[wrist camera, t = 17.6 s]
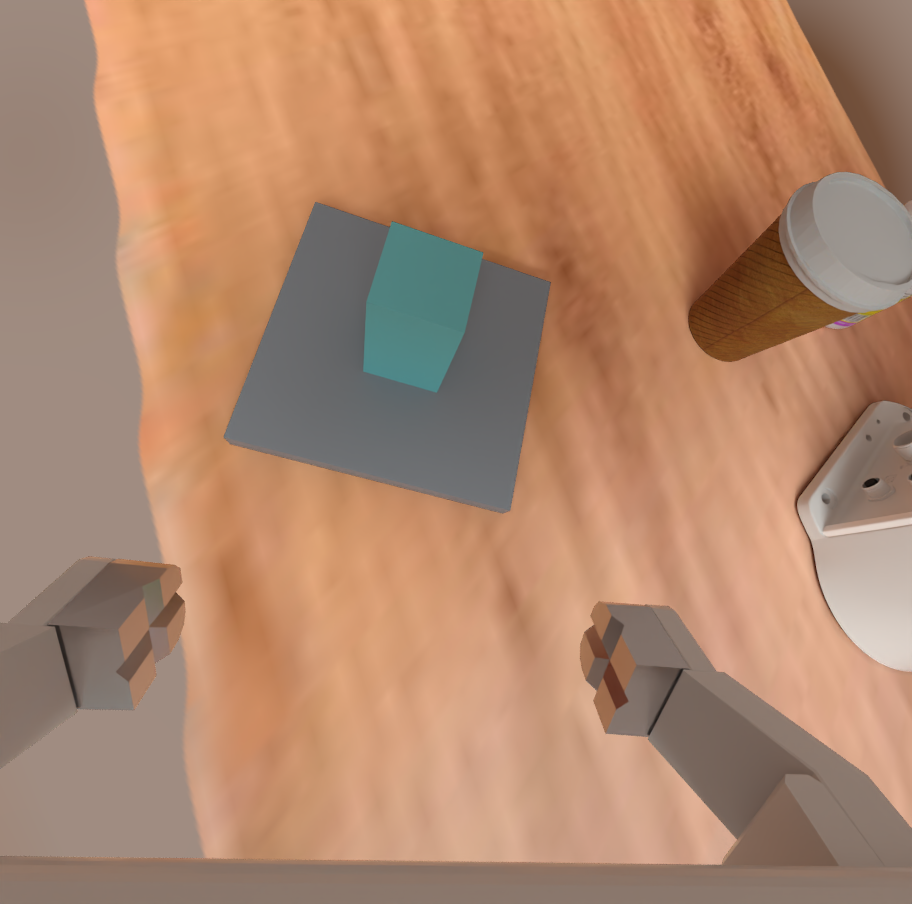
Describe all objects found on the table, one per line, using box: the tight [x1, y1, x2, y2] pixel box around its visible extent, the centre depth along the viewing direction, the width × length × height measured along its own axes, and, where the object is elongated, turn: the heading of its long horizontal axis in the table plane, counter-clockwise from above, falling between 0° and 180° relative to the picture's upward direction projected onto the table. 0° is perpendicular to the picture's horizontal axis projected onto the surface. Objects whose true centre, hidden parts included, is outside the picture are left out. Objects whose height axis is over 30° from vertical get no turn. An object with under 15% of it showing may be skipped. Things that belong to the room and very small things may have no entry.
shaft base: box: [224, 202, 551, 513], centre depth 29 cm, size 18×18×6 cm
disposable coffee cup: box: [689, 172, 912, 362], centre depth 33 cm, size 10×10×12 cm
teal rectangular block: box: [363, 221, 483, 393], centre depth 27 cm, size 5×5×8 cm
